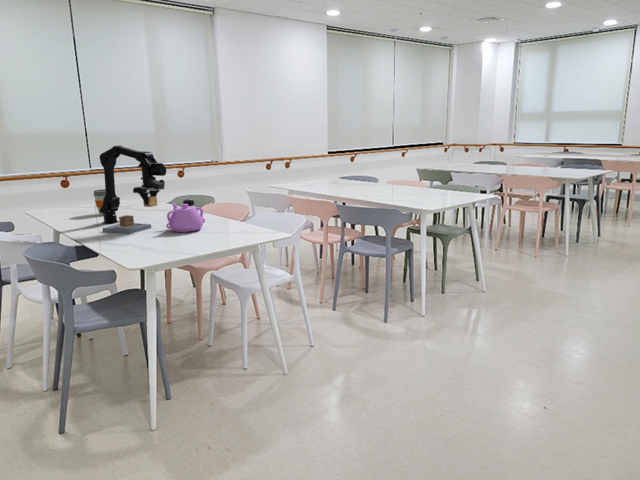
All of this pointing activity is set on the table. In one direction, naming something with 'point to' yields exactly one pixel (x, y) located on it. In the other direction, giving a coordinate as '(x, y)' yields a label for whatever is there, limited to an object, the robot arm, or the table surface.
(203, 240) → the table surface
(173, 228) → the teapot
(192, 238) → the table surface
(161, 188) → the robot arm
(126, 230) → the board
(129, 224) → the walnut block
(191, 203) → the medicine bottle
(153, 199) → the ochre block
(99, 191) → the reusable coffee cup
